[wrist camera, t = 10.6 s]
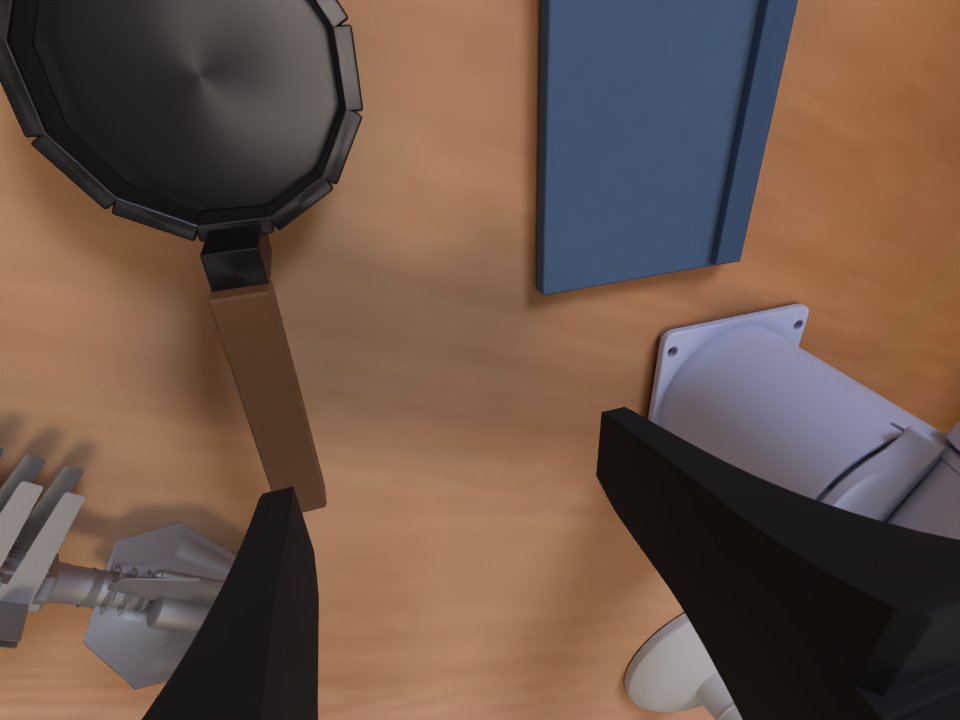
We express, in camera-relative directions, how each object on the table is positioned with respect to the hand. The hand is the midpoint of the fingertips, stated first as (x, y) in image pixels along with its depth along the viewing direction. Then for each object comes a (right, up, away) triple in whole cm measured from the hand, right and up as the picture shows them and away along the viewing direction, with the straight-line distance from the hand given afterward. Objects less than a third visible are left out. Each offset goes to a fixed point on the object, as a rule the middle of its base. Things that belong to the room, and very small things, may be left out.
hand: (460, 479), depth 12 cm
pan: (-7, +7, +5) cm, 11 cm away
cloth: (+7, +12, +6) cm, 15 cm away
